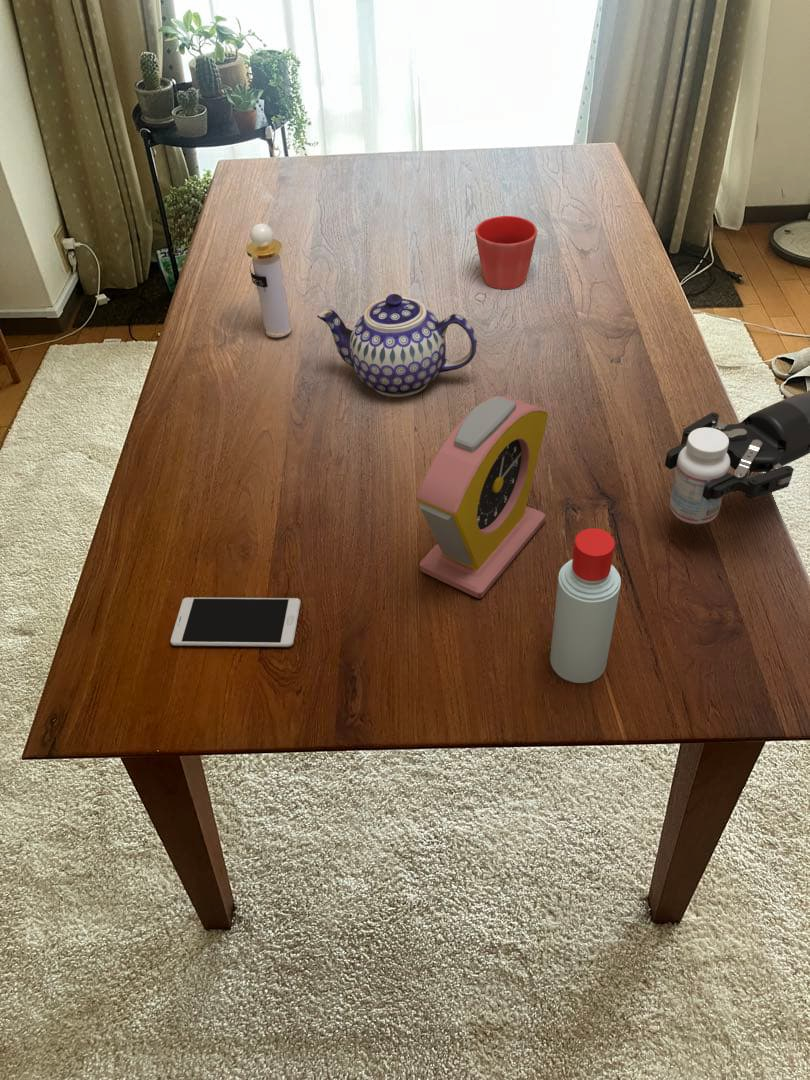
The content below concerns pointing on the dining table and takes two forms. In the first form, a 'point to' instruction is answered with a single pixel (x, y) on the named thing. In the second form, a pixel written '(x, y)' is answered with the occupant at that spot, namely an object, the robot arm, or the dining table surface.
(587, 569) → the cap
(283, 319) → the perfume bottle
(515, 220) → the flower pot
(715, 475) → the pill bottle
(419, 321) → the teapot
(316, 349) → the dining table surface
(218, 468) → the dining table surface
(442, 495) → the pink desk clock
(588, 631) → the water bottle
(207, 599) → the smartphone
